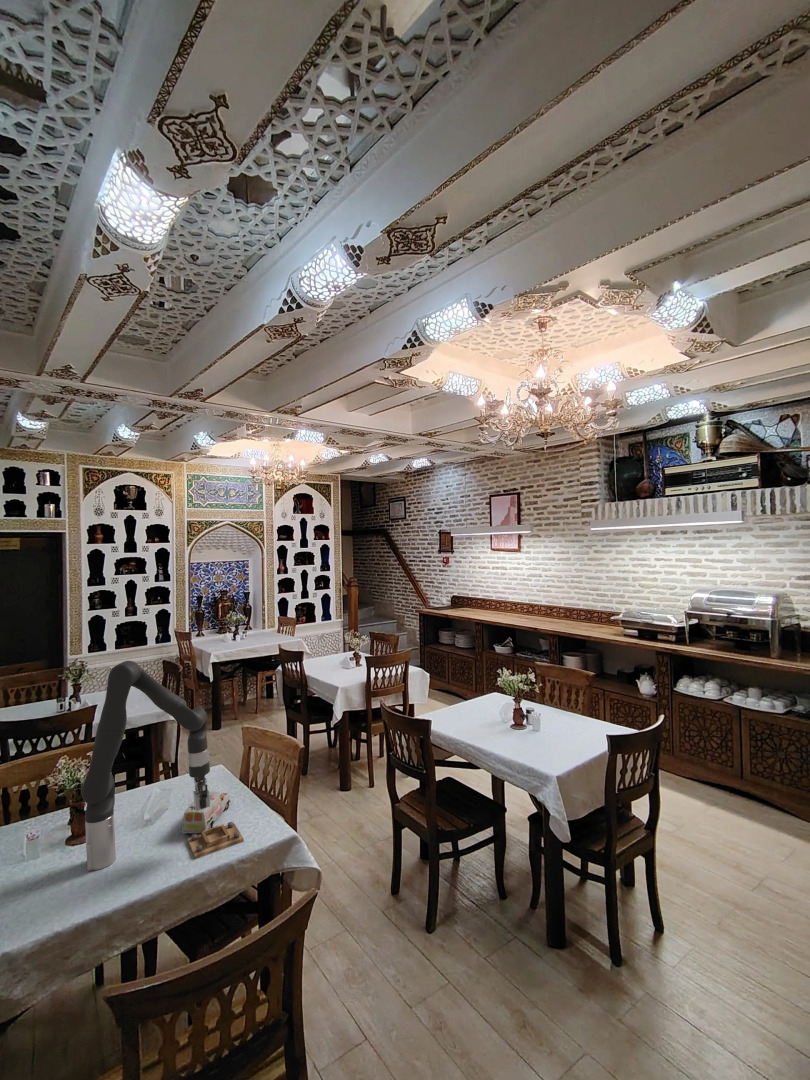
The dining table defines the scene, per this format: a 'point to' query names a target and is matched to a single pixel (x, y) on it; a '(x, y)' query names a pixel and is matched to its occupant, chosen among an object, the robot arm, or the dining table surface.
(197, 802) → the block
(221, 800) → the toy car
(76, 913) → the dining table surface
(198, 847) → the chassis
